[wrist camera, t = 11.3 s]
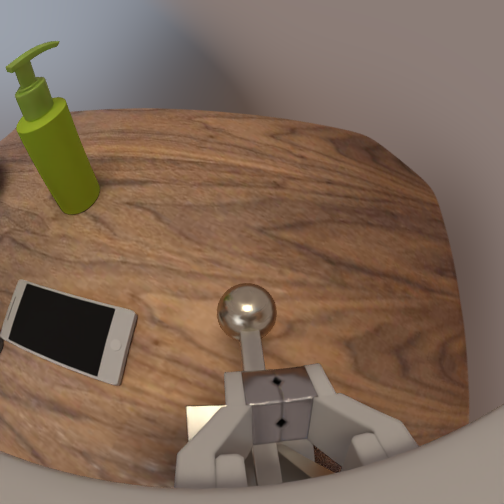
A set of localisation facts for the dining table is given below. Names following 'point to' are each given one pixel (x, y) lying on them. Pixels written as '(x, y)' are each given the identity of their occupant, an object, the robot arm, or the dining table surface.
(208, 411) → the metal pivot stand
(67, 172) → the soap dispenser
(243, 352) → the lever
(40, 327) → the smartphone
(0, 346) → the flask
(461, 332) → the dining table surface
